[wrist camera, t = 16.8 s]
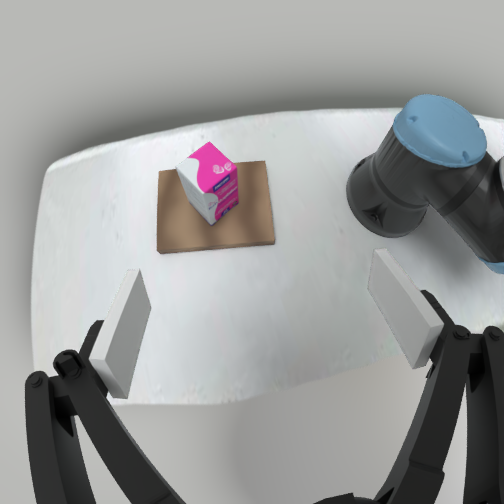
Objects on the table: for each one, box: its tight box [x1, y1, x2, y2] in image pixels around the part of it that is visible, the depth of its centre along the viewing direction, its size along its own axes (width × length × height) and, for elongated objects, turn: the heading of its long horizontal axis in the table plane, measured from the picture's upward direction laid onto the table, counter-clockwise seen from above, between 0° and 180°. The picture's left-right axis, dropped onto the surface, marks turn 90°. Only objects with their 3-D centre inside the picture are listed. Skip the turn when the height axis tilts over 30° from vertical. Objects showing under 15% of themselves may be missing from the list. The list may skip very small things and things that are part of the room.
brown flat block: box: [157, 161, 275, 254], centre depth 49 cm, size 18×14×2 cm
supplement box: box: [176, 142, 239, 226], centre depth 43 cm, size 6×6×12 cm
